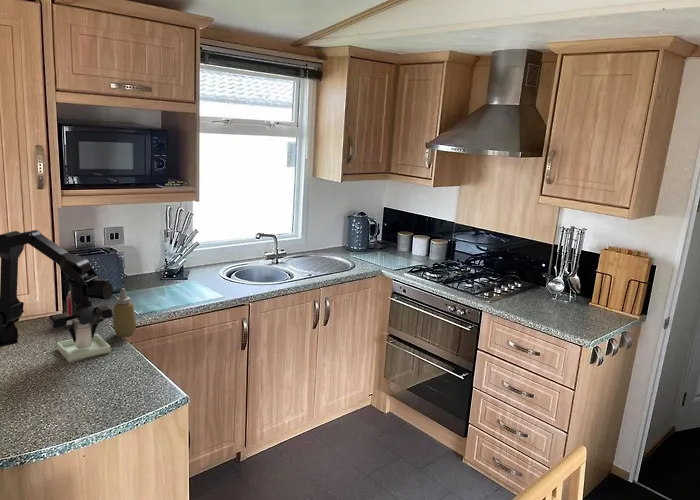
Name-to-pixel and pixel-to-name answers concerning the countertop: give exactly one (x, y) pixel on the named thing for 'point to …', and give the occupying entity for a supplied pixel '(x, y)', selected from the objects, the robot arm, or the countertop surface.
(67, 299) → the beverage can
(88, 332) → the ceramic shaker
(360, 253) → the countertop surface
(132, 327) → the squeeze bottle
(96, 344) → the sage tray
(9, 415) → the countertop surface
